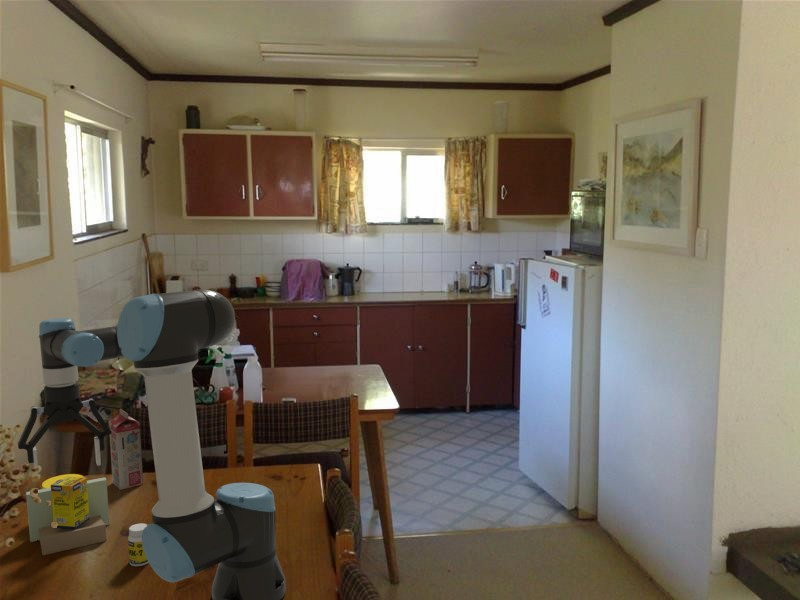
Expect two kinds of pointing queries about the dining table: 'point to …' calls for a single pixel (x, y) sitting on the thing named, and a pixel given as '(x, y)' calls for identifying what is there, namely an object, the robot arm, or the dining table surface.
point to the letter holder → (69, 538)
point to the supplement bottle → (136, 545)
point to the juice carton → (125, 451)
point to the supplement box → (70, 502)
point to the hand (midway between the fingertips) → (68, 469)
